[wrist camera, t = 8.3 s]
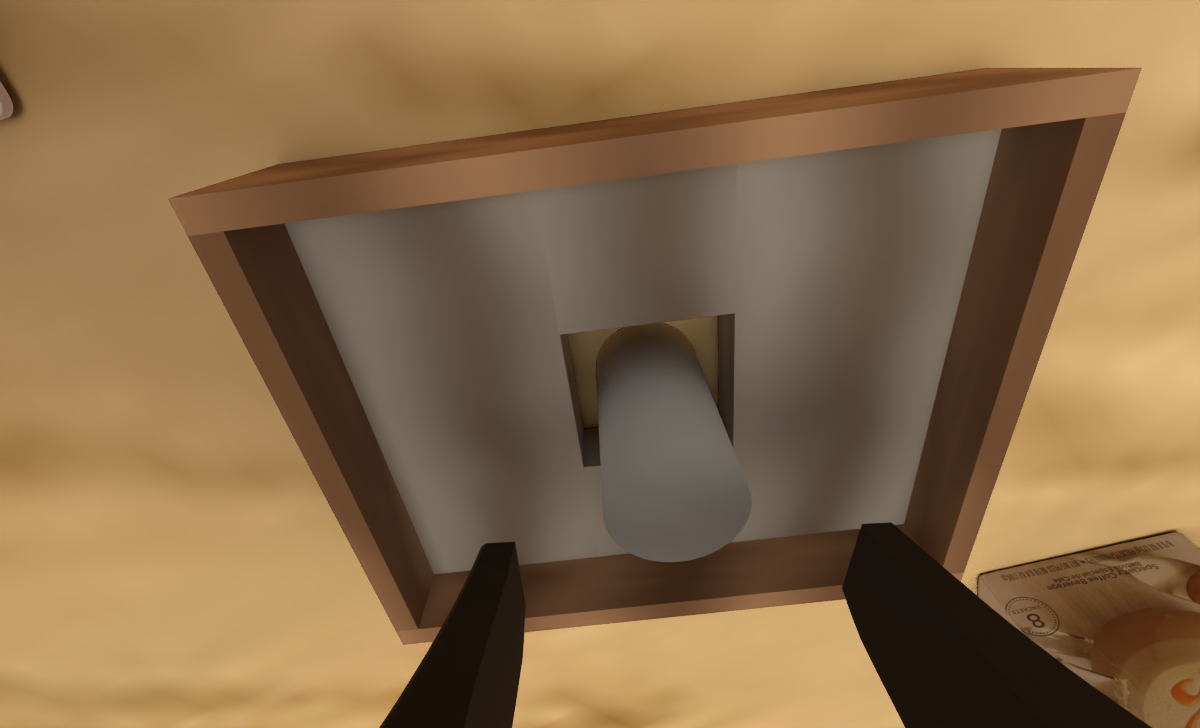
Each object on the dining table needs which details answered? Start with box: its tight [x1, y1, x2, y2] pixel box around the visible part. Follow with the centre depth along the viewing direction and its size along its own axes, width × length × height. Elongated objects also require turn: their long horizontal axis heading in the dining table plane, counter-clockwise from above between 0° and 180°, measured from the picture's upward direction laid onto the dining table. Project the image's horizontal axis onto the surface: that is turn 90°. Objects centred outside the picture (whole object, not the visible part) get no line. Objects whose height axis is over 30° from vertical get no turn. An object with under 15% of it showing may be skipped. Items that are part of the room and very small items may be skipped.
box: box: [168, 68, 1142, 645], centre depth 16 cm, size 20×16×4 cm
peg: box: [596, 323, 752, 562], centre depth 15 cm, size 4×4×7 cm
